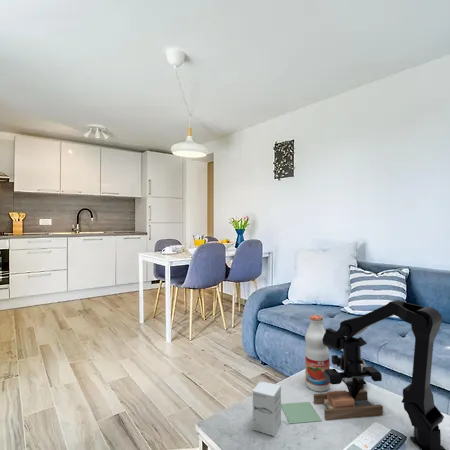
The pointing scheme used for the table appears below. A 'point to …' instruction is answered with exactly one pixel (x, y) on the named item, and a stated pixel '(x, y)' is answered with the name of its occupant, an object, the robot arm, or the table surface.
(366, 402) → the trap pit
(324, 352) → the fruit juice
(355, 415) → the channel
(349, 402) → the block
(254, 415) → the supplement box
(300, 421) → the pad
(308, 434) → the table surface
